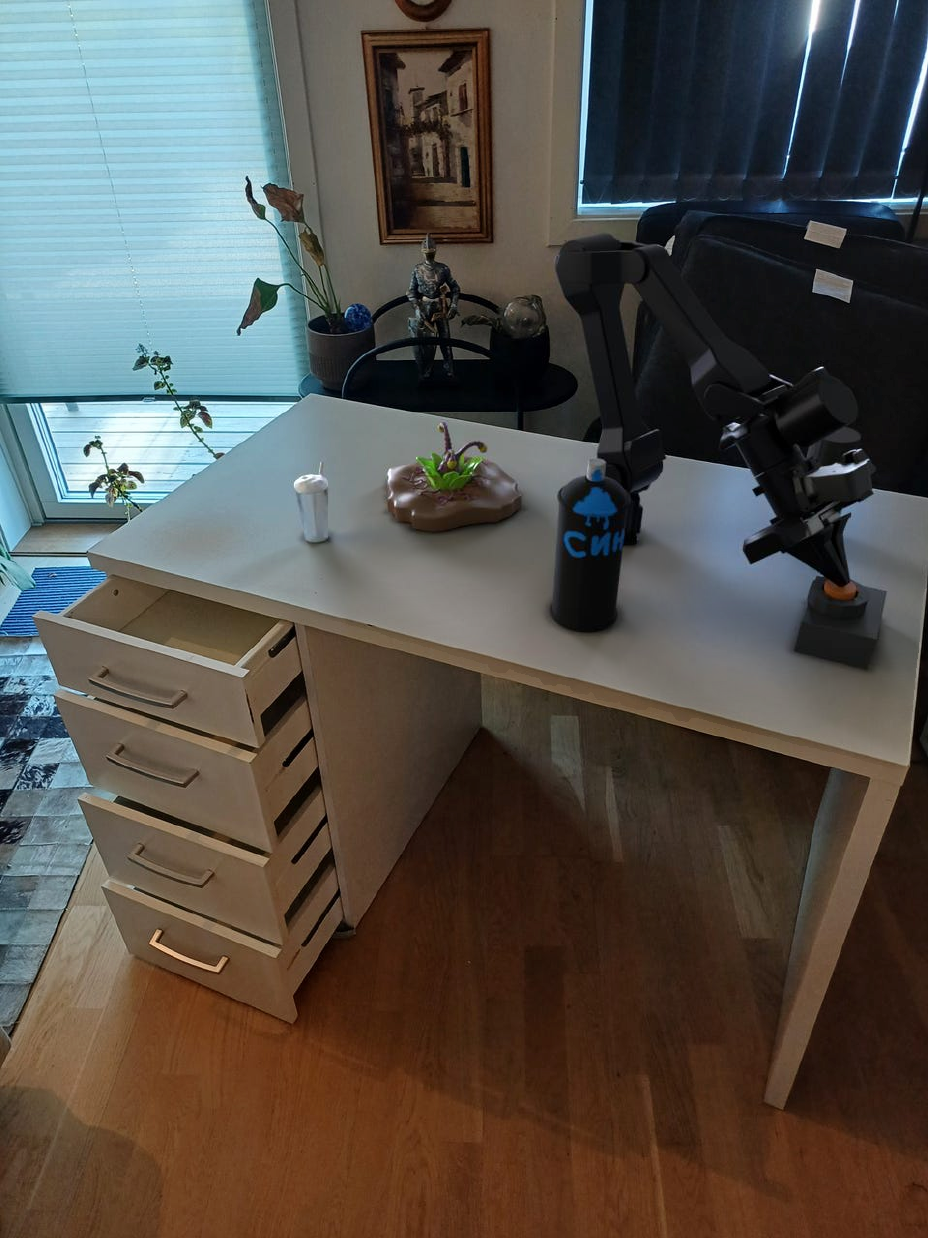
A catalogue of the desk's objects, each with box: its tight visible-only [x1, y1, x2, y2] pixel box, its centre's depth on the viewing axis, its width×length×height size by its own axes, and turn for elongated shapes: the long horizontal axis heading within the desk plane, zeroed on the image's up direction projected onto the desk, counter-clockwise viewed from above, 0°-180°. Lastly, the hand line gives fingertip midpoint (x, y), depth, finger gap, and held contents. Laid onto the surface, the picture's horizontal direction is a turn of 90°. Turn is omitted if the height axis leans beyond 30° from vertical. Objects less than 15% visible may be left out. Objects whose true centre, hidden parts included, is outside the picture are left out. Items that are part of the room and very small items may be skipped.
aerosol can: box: [549, 457, 631, 633], centre depth 104 cm, size 8×8×20 cm
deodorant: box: [800, 426, 862, 519], centre depth 122 cm, size 6×6×15 cm
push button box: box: [793, 575, 888, 671], centre depth 104 cm, size 11×8×6 cm
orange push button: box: [823, 580, 857, 600], centre depth 103 cm, size 3×3×2 cm
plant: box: [386, 421, 522, 533], centre depth 132 cm, size 20×20×11 cm
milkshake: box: [293, 462, 329, 544], centre depth 123 cm, size 4×5×10 cm
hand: (845, 584), depth 102 cm, fingers closed, pressing on orange push button
